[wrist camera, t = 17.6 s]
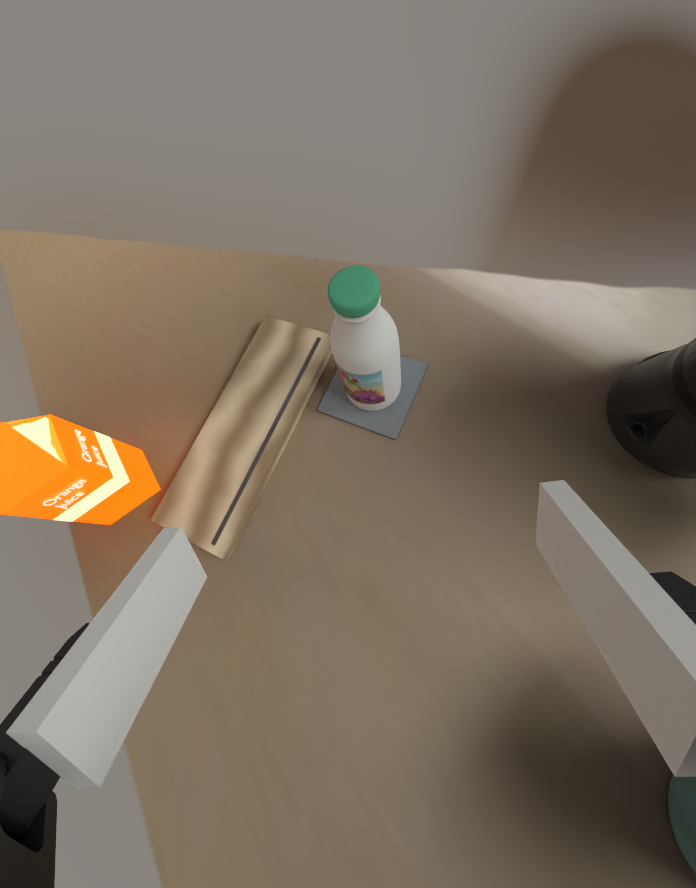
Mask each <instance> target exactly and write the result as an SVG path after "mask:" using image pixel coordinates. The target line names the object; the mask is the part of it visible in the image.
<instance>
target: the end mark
mask: <svg viewBox="0 0 696 888" xmlns="http://www.w3.org/2000/svg"><path fill="white" fill-rule="evenodd" d="M400 366H401V389H400V392H399V395H398V397H397V398H396V400H395V401H394V402H393V403H392V404H391V405H389V406H388V407H386V408H384V409H381V410H377V411H367V410H363V409H360V408H358V407H357V406H355V405H354V404H353V403H352V402H351V401H350V399H349V397H348V395H347V393H346V391H345V388H344V385H343V383H342V380H341V378H340V375H339V372H338V369H337V370H336V372H335V374H334V377H333V379H332V381H331V383H330V385H329V387H328V389H327V391H326V393H325V395H324V397H323V399H322V401H321V403H320V405H319V407H318V409H317V411H319V412H321V413H324V414H327V415H329V416H332V417H335V418H337V419H340V420H343V421H346V422H348V423H351V424H354V425H356V426H359V427H362V428H364V429H367V430H370V431H372V432H375V433H378V434H381V435H383V436H386V437H389V438H391V439H394V440H396V439H397V437H398V435H399V432H400V430H401V428H402V425H403V423H404V421H405V418H406V416H407V414H408V411H409V409H410V406H411V404H412V402H413V399H414V397H415V395H416V392H417V390H418V388H419V385H420V383H421V381H422V378H423V376H424V374H425V371H426V369H427V367H428V363H425V362H422V361H419V360H415V359H412V358H409V357H405V356H402V355H400Z"/></svg>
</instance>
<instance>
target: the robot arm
mask: <svg viewBox="0 0 696 888" xmlns="http://www.w3.org/2000/svg"><path fill="white" fill-rule="evenodd" d="M607 412H608V418H609V422H610V425H611V428H612V430H613V432H614V434H615V436H616V437H617V439H618V440H619V442H620V443H621V444H622V445H623V446H624V448H625V449H626V450H627V451H628V452H629V453H631V454H632V455H633V456H634V457H635V458H637V459H638V460H640V461H641V462H643V463H644V464H646V465H648V466H650V467H652V468H654V469H656V470H659V471H661V472H664V473H667V474H671V475H675V476H681V477H692V478H696V338H695V339H694V340H692V341H691V342H690V343H688V344H685V345H683V346H680V347H678V348H676V349H673V350H671V351H665V352H661V353H658V354H655V355H652V356H650V357H647V358H645V359H643V360H641V361H640V362H638V363H637V364H635V365H634V366H633V367H631V368H630V369H629V370H628V371H627V372H625V373H624V374H623V375H622V376H621V377H620V378H619V379H618V380H617V381H616V383H615V384H614V386H613V387H612V389H611V392H610V394H609V398H608V404H607ZM535 544H536V546H537V548H538V549H539V551H540V553H541V554H542V556H543V558H544V559H545V561H546V563H547V564H548V566H549V568H550V569H551V571H552V573H553V574H554V576H555V578H556V579H557V581H558V583H559V584H560V586H561V588H562V589H563V591H564V593H565V594H566V596H567V598H568V599H569V601H570V603H571V604H572V606H573V608H574V609H575V611H576V613H577V614H578V616H579V618H580V619H581V621H582V623H583V624H584V626H585V628H586V629H587V631H588V633H589V634H590V636H591V638H592V639H593V641H594V643H595V644H596V646H597V648H598V649H599V651H600V653H601V654H602V656H603V658H604V659H605V661H606V663H607V664H608V666H609V668H610V669H611V671H612V673H613V674H614V676H615V678H616V679H617V681H618V683H619V684H620V686H621V688H622V690H623V691H624V693H625V695H626V696H627V698H628V700H629V701H630V703H631V705H632V706H633V708H634V710H635V711H636V713H637V715H638V716H639V718H640V720H641V721H642V723H643V725H644V726H645V728H646V730H647V731H648V733H649V735H650V736H651V738H652V740H653V741H654V743H655V745H656V746H657V748H658V750H659V751H660V753H661V755H662V756H663V758H664V760H665V761H666V763H667V765H668V766H669V768H670V770H671V771H672V773H673V775H674V776H675V777H696V586H694V585H692V584H691V583H689V582H688V581H686V580H684V579H683V578H681V577H679V576H678V575H676V574H675V573H673V572H660V573H648V572H647V571H646V570H645V569H644V567H643V566H642V565H641V564H640V563H639V562H638V561H637V560H636V559H635V558H634V556H633V555H632V554H631V553H630V552H629V551H628V550H627V549H626V548H625V547H624V545H623V544H622V543H621V542H620V541H619V540H618V539H617V538H616V537H615V536H614V534H613V533H612V532H611V531H610V530H609V529H608V528H607V527H606V526H605V525H604V523H603V522H602V521H601V520H600V519H599V518H598V517H597V516H596V515H595V514H594V512H593V511H592V510H591V509H590V508H589V507H588V506H587V505H586V504H585V503H584V501H583V500H582V499H581V498H580V497H579V496H578V495H577V494H576V493H575V492H574V490H573V489H572V488H571V487H570V486H569V485H568V484H567V483H566V482H565V481H564V480H559V481H551V482H542V483H540V487H539V501H538V515H537V529H536V543H535ZM206 578H207V576H206V574H205V572H204V570H203V568H202V566H201V564H200V562H199V560H198V558H197V556H196V554H195V552H194V550H193V548H192V547H191V545H190V543H189V541H188V539H187V537H186V535H185V533H184V531H183V529H182V527H181V526H180V527H172V528H164V529H162V531H161V532H160V533H159V534H158V536H157V537H156V538H155V540H154V541H153V542H152V543H151V545H150V546H149V547H148V549H147V550H146V551H145V553H144V554H143V555H142V556H141V558H140V559H139V560H138V562H137V563H136V564H135V566H134V567H133V568H132V569H131V571H130V572H129V573H128V575H127V576H126V577H125V579H124V580H123V581H122V582H121V584H120V585H119V586H118V588H117V589H116V590H115V592H114V593H113V594H112V595H111V597H110V598H109V599H108V601H107V602H106V603H105V605H104V606H103V607H102V608H101V610H100V611H99V612H98V614H97V615H96V616H95V617H94V619H93V620H92V621H91V623H86V624H85V625H84V626H83V627H82V628H80V629H79V630H78V631H77V632H76V633H75V634H74V635H72V636H71V637H70V638H69V639H68V640H67V642H66V643H65V644H64V645H63V646H62V648H61V649H60V650H59V652H58V653H57V654H56V655H55V656H54V660H53V661H50V663H49V664H48V665H47V667H46V668H45V669H44V670H43V672H42V675H41V676H39V677H38V678H37V679H36V681H35V682H34V683H33V684H32V686H31V687H30V688H29V689H28V690H27V692H26V693H25V694H24V695H23V697H22V698H21V699H20V700H19V702H18V703H17V704H16V705H15V707H14V708H13V709H12V711H11V712H10V713H9V714H8V716H7V717H6V718H5V719H4V721H3V722H2V723H1V725H0V888H54V879H55V849H56V820H57V799H56V794H55V793H54V792H53V791H52V790H53V788H54V787H55V785H56V783H57V781H58V780H59V778H61V779H62V780H64V781H65V782H66V783H67V784H68V785H70V786H71V787H72V788H100V786H101V784H102V782H103V780H104V778H105V776H106V774H107V773H108V771H109V769H110V767H111V765H112V763H113V761H114V759H115V757H116V755H117V753H118V751H119V749H120V747H121V745H122V743H123V741H124V739H125V737H126V735H127V733H128V731H129V729H130V727H131V725H132V724H133V722H134V720H135V718H136V716H137V714H138V712H139V710H140V708H141V706H142V704H143V702H144V700H145V698H146V696H147V694H148V692H149V690H150V688H151V686H152V684H153V682H154V680H155V678H156V676H157V675H158V673H159V671H160V669H161V667H162V665H163V663H164V661H165V659H166V657H167V655H168V653H169V651H170V649H171V647H172V645H173V643H174V641H175V639H176V637H177V635H178V633H179V631H180V629H181V627H182V625H183V624H184V622H185V620H186V618H187V616H188V614H189V612H190V610H191V608H192V606H193V604H194V602H195V600H196V598H197V596H198V594H199V592H200V590H201V588H202V586H203V584H204V582H205V580H206Z"/></svg>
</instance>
